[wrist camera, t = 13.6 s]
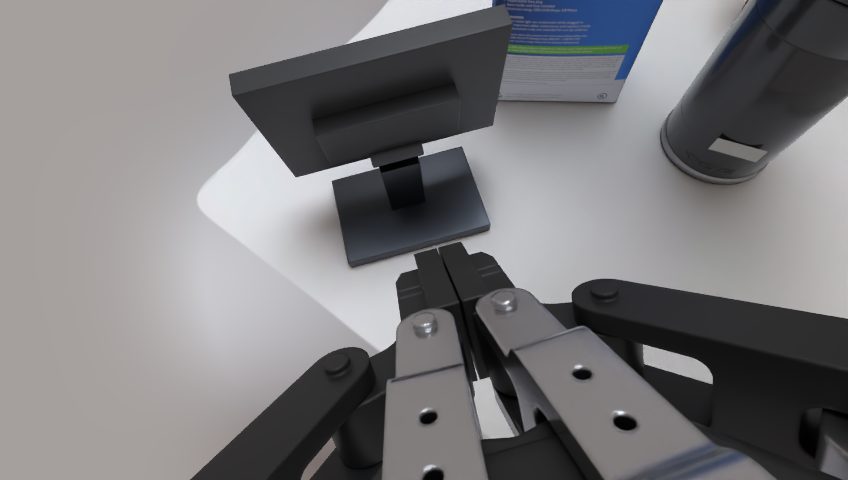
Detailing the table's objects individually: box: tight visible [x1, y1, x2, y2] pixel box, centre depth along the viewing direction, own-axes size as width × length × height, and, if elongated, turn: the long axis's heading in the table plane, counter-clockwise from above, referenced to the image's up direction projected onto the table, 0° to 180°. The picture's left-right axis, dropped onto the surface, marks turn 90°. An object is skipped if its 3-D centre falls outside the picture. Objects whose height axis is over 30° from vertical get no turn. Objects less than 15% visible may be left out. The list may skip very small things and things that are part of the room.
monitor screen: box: [229, 4, 513, 177], centre depth 30 cm, size 4×17×11 cm, turn 104°
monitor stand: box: [332, 147, 490, 267], centre depth 37 cm, size 9×13×7 cm
